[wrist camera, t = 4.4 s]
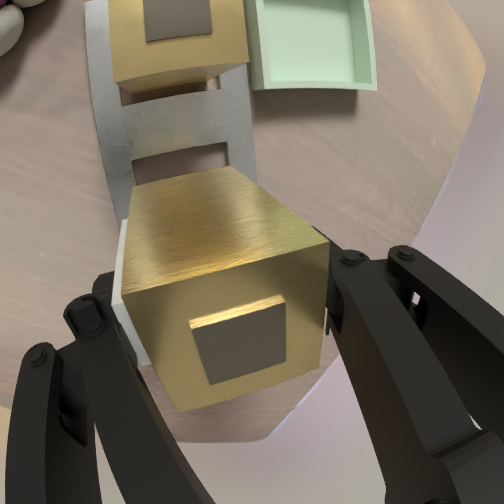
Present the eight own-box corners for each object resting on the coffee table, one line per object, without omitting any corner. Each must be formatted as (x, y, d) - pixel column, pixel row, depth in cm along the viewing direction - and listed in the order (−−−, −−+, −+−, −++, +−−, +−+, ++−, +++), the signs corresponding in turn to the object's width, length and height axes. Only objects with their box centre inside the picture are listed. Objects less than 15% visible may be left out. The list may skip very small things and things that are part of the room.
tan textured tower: (131, 94, 16) (113, 82, 8) (125, 27, 13) (107, -30, 6) (207, 81, 17) (250, 61, 9) (200, 15, 14) (238, -43, 7)
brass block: (155, 272, 16) (179, 416, 8) (132, 186, 13) (120, 299, 6) (240, 251, 17) (320, 371, 10) (230, 165, 15) (333, 244, 7)
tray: (252, 90, 18) (264, 88, 16) (240, -21, 14) (251, -33, 12) (357, 89, 20) (377, 90, 18) (347, -7, 16) (365, -13, 14)
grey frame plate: (134, 269, 21) (134, 275, 21) (87, 6, 11) (84, 2, 11) (259, 240, 24) (262, 244, 23) (234, -15, 14) (237, -19, 13)
